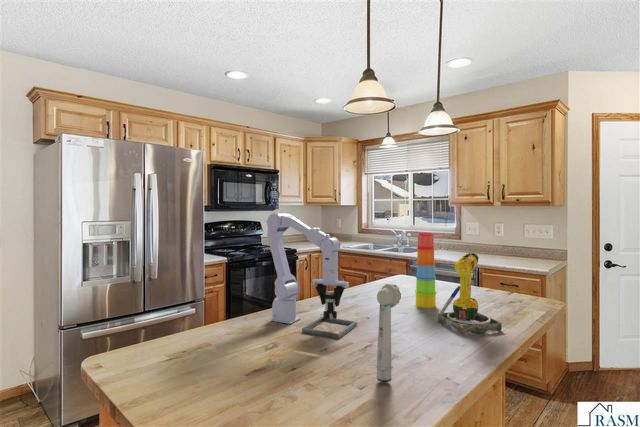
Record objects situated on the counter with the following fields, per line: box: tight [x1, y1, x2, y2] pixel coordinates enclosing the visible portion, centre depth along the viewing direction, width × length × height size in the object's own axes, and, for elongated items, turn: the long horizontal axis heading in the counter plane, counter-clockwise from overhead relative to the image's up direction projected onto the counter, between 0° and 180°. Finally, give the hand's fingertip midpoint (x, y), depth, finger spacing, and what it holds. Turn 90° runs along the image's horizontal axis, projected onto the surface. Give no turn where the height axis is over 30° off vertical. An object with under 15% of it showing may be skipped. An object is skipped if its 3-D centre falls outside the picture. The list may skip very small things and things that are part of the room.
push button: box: [319, 290, 338, 319], centre depth 136 cm, size 7×5×10 cm
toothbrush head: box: [375, 283, 402, 383], centre depth 96 cm, size 5×7×25 cm
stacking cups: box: [414, 232, 438, 309], centre depth 167 cm, size 10×10×35 cm
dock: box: [301, 316, 358, 340], centre depth 137 cm, size 15×17×2 cm
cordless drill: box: [437, 252, 503, 335], centre depth 140 cm, size 18×19×28 cm
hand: (330, 304), depth 137 cm, fingers closed on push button, 5 cm apart
